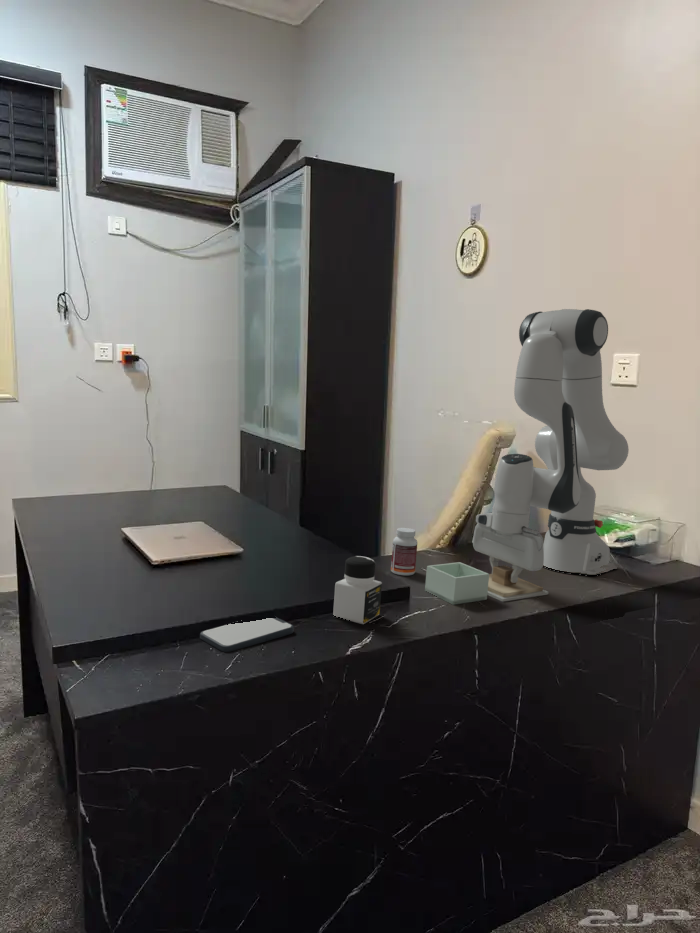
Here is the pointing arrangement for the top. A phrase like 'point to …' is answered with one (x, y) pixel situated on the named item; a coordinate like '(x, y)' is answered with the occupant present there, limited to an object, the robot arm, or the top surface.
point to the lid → (509, 583)
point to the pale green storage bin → (457, 583)
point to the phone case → (246, 633)
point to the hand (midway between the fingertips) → (504, 578)
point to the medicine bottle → (358, 591)
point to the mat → (517, 595)
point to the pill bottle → (404, 552)
